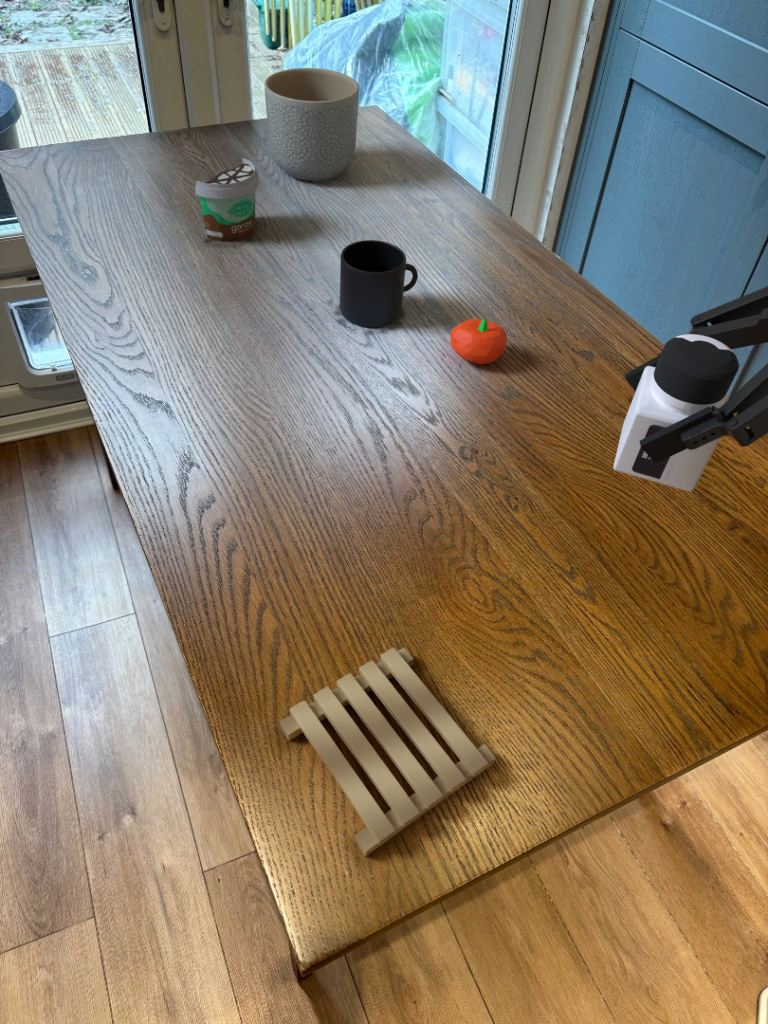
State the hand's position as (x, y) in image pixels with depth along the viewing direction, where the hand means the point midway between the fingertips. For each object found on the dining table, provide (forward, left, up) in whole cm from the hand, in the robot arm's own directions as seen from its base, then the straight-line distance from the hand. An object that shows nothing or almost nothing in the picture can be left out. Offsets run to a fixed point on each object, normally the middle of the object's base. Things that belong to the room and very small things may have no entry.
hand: (639, 417), depth 71 cm
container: (-2, -2, -5) cm, 6 cm away
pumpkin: (+34, -12, -19) cm, 40 cm away
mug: (+51, -7, -19) cm, 54 cm away
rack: (-7, +33, -19) cm, 39 cm away
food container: (+82, 0, -19) cm, 84 cm away
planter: (+97, -24, -19) cm, 101 cm away
